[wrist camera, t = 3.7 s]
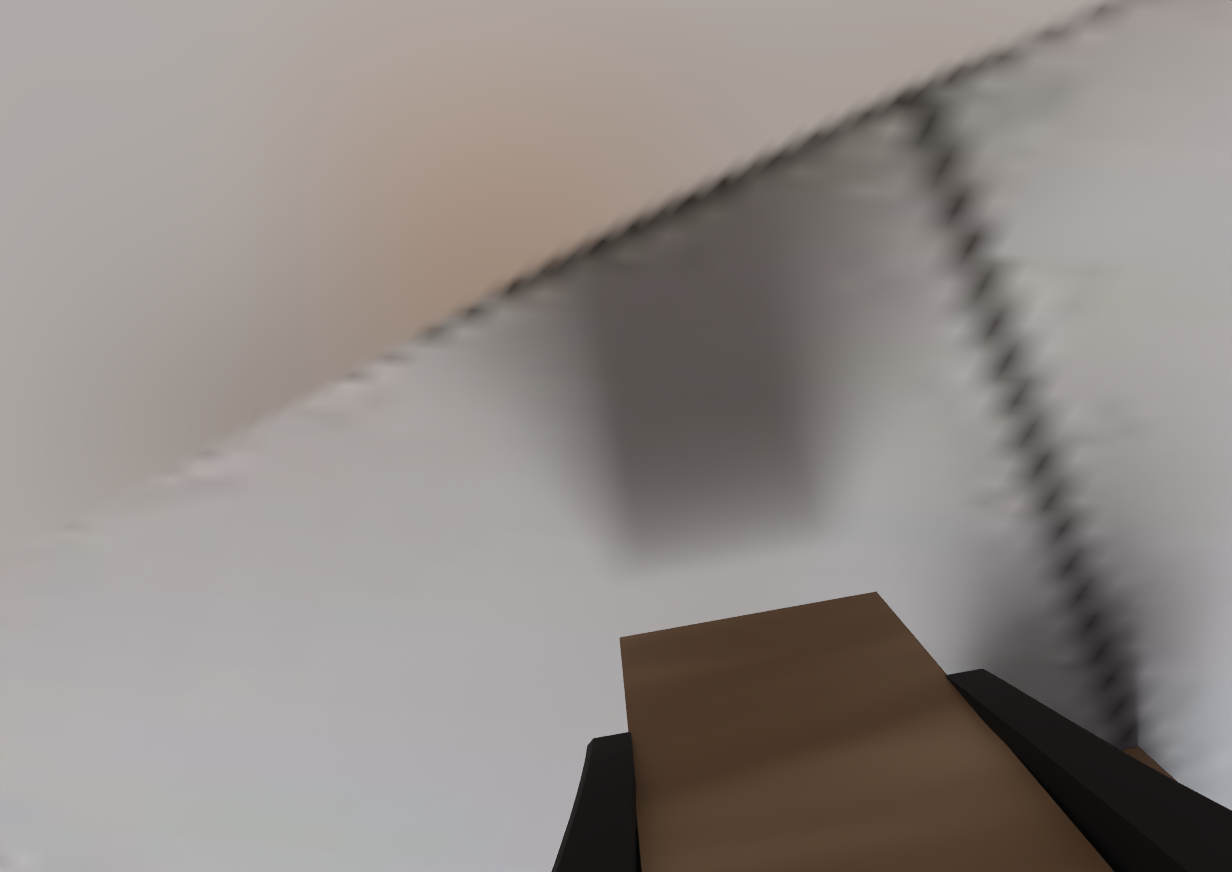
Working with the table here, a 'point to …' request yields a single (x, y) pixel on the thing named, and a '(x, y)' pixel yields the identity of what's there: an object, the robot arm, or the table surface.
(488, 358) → the table surface
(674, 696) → the end domino
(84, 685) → the table surface
